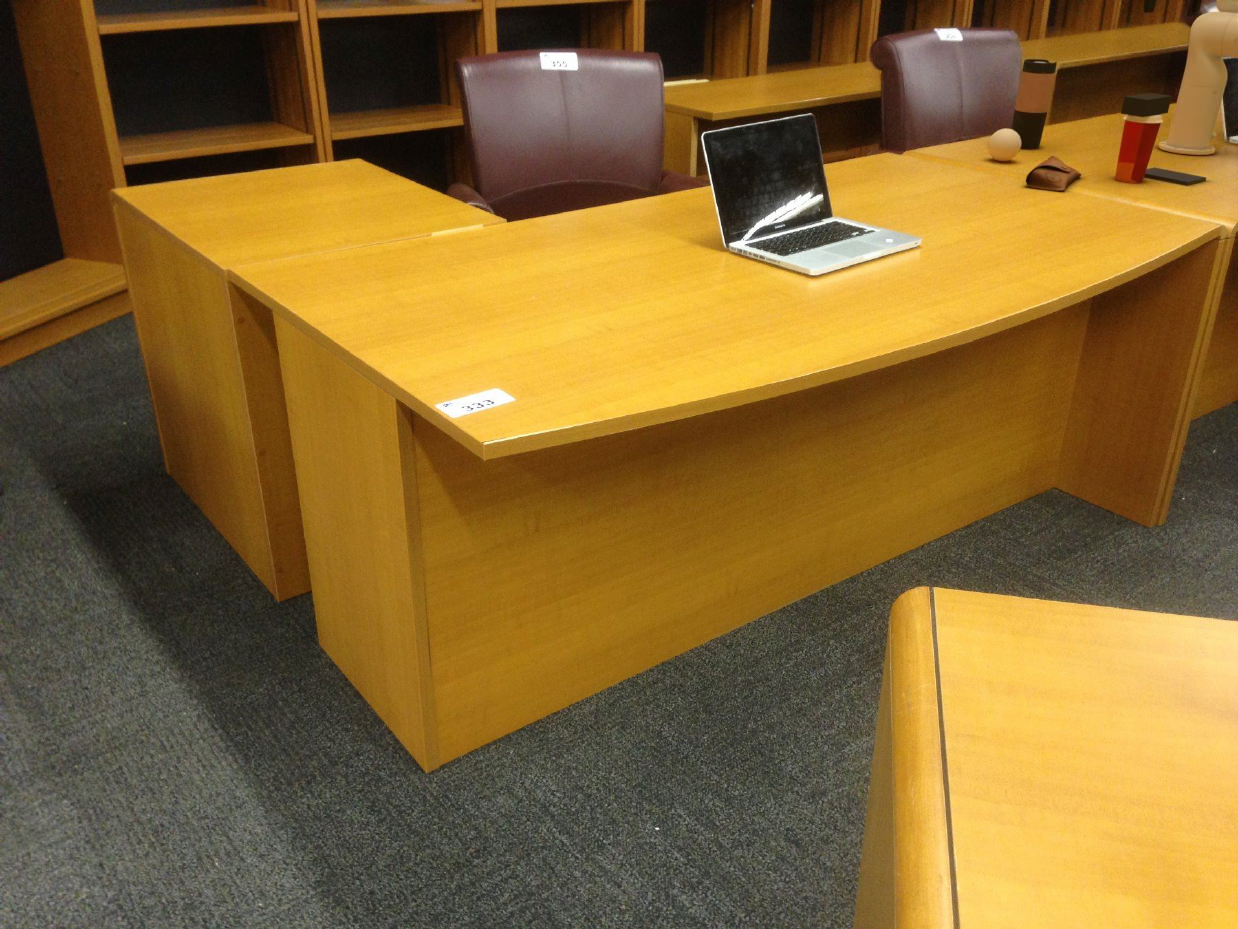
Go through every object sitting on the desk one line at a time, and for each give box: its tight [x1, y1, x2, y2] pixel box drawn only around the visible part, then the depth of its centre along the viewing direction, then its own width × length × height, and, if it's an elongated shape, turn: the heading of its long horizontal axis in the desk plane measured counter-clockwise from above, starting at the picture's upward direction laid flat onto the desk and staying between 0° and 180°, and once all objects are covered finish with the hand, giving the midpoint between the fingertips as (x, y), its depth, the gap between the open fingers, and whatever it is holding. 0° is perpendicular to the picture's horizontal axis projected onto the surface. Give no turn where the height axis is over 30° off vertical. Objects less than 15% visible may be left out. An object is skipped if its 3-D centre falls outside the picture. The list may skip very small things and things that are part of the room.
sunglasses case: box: [1025, 155, 1082, 192], centre depth 226 cm, size 18×7×7 cm, turn 149°
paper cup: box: [1114, 114, 1164, 184], centre depth 226 cm, size 8×8×14 cm
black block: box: [1120, 92, 1173, 117], centre depth 222 cm, size 10×5×4 cm, turn 127°
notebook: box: [1144, 166, 1207, 186], centre depth 232 cm, size 8×12×1 cm, turn 37°
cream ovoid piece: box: [987, 128, 1022, 162], centre depth 244 cm, size 10×7×7 cm
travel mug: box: [1011, 58, 1058, 150], centre depth 256 cm, size 8×8×20 cm
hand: (1169, 14), depth 228 cm, fingers open, 9 cm apart
